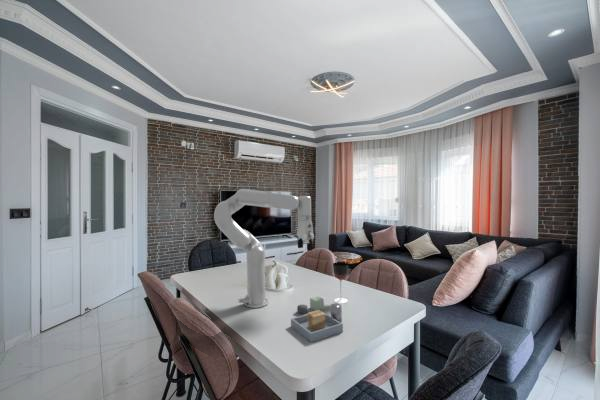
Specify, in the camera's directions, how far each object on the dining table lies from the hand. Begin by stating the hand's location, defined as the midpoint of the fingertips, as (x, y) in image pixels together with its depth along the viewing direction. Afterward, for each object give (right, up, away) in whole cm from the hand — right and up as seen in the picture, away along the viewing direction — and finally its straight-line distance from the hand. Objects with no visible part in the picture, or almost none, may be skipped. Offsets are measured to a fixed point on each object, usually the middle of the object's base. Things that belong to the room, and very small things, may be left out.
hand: (304, 249), depth 150 cm
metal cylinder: (+14, -28, -26) cm, 41 cm away
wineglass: (+20, -28, -1) cm, 34 cm away
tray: (+4, -28, -34) cm, 44 cm away
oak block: (+4, -27, -34) cm, 44 cm away
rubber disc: (-2, -29, -16) cm, 33 cm away
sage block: (+6, -28, -11) cm, 31 cm away
